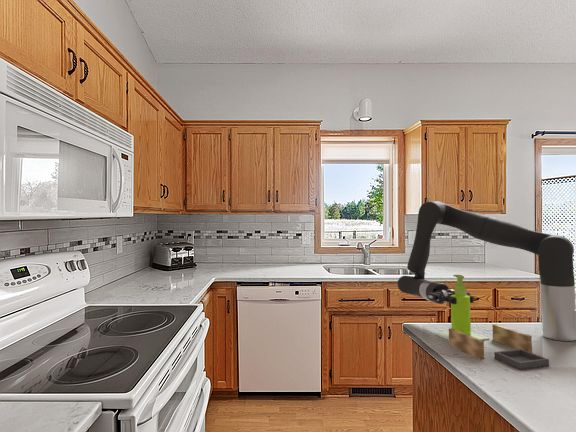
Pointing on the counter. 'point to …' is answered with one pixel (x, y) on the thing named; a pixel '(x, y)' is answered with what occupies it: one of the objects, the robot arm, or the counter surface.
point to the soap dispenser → (461, 308)
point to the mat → (446, 335)
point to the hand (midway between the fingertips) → (464, 300)
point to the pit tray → (521, 359)
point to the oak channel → (499, 335)
